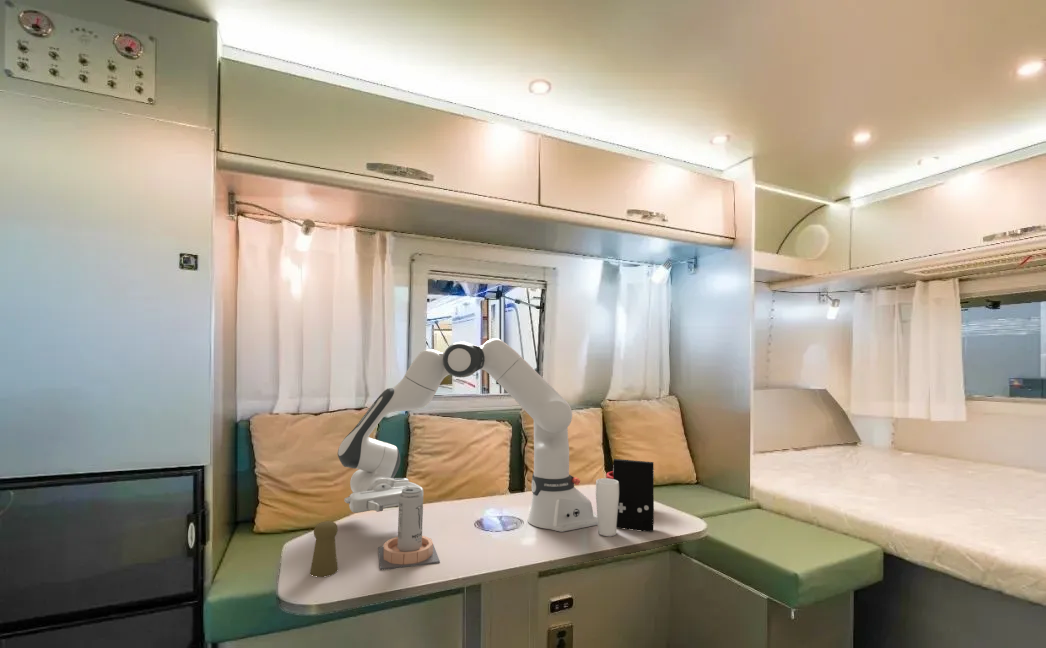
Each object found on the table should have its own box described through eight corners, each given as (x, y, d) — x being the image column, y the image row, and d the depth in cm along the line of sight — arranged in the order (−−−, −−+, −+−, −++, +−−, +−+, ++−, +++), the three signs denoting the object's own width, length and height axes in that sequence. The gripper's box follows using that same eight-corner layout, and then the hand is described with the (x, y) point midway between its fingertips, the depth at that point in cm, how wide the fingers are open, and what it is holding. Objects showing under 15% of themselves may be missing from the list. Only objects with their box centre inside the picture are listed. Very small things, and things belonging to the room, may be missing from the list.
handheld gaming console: (612, 527, 144) (612, 460, 145) (614, 523, 148) (614, 457, 149) (653, 533, 140) (653, 463, 141) (654, 528, 144) (654, 460, 146)
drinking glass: (618, 539, 135) (619, 484, 136) (594, 536, 136) (595, 483, 137) (619, 530, 142) (619, 479, 143) (595, 528, 143) (596, 477, 144)
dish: (432, 542, 130) (432, 531, 130) (439, 562, 117) (440, 550, 118) (378, 548, 125) (378, 537, 125) (380, 569, 113) (380, 557, 113)
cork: (315, 565, 114) (317, 518, 115) (341, 565, 115) (343, 518, 116) (305, 577, 108) (308, 527, 109) (333, 577, 109) (335, 527, 110)
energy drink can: (417, 555, 118) (419, 493, 119) (393, 554, 118) (395, 492, 119) (424, 546, 124) (426, 487, 125) (402, 545, 124) (404, 486, 125)
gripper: (342, 486, 133) (359, 499, 122) (411, 477, 145) (432, 487, 134) (341, 510, 132) (357, 524, 121) (410, 498, 145) (431, 510, 134)
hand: (397, 505), depth 128 cm, fingers open, 8 cm apart
